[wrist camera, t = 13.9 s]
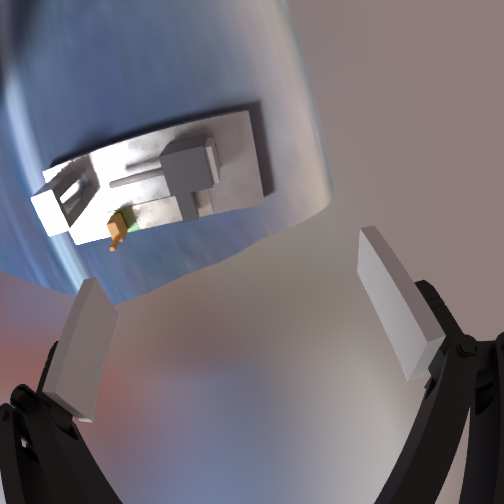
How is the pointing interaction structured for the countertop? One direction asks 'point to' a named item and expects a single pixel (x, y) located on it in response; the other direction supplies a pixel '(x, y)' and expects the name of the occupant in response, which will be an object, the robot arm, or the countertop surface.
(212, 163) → the grey block with rod
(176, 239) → the countertop surface
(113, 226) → the orange peg piece
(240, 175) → the gauge board
